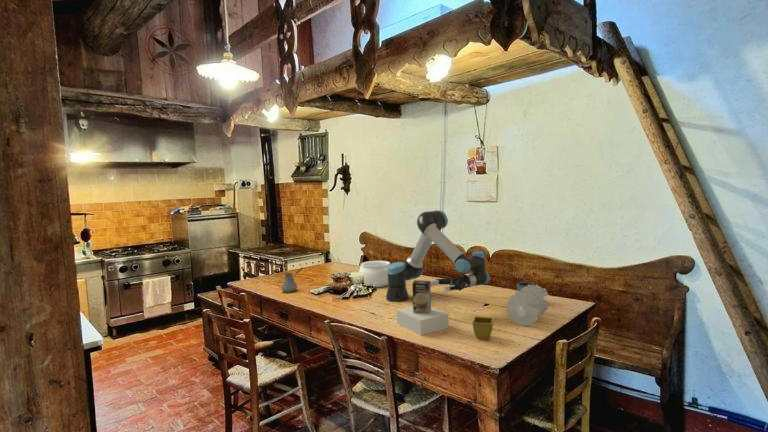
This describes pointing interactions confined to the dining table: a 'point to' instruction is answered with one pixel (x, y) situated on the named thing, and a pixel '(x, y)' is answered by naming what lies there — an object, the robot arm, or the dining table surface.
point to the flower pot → (482, 327)
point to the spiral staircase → (527, 305)
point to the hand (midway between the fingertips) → (436, 286)
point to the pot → (375, 272)
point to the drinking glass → (523, 285)
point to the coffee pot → (289, 282)
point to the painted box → (422, 320)
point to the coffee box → (421, 296)
